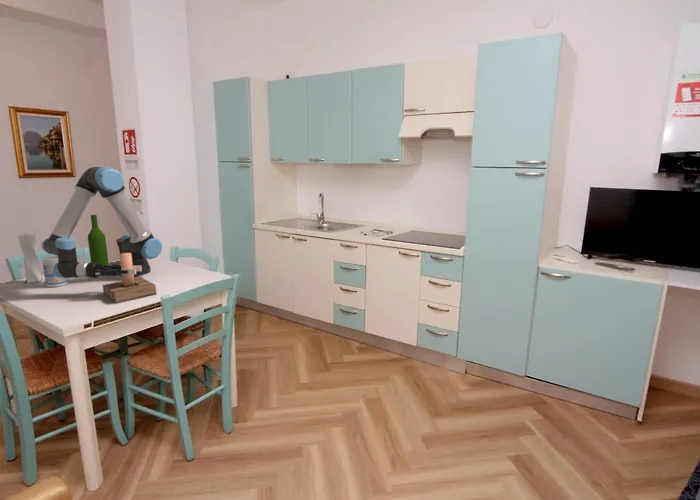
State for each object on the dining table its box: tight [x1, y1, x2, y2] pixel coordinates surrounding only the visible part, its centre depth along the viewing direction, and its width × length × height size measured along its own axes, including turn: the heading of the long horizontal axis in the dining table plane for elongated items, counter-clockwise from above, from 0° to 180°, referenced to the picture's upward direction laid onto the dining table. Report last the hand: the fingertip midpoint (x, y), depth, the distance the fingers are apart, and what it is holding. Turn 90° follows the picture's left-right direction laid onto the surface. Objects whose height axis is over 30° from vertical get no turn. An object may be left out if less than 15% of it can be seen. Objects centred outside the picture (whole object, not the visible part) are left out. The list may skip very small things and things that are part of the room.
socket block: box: [102, 277, 157, 304], centre depth 202 cm, size 18×18×5 cm
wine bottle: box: [87, 214, 110, 266], centre depth 246 cm, size 9×9×32 cm
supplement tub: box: [42, 255, 69, 288], centre depth 216 cm, size 10×10×15 cm
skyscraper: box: [17, 229, 43, 285], centre depth 220 cm, size 8×8×28 cm
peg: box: [119, 253, 135, 288], centre depth 200 cm, size 5×5×18 cm
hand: (138, 270), depth 200 cm, fingers closed on peg, 5 cm apart
